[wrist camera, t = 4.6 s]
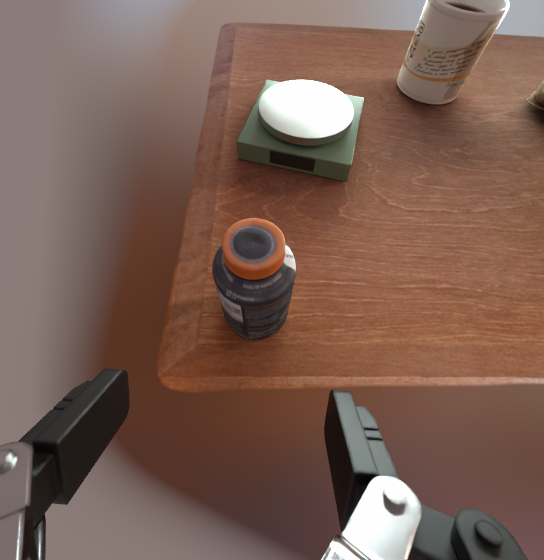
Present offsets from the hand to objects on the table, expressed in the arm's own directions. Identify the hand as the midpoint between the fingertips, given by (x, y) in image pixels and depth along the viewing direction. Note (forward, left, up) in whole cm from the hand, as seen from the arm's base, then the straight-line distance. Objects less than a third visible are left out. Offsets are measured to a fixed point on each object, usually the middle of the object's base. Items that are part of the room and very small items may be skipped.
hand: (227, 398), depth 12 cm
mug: (+14, +55, -14) cm, 58 cm away
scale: (-3, +36, -14) cm, 38 cm away
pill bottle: (-2, +9, -14) cm, 17 cm away
